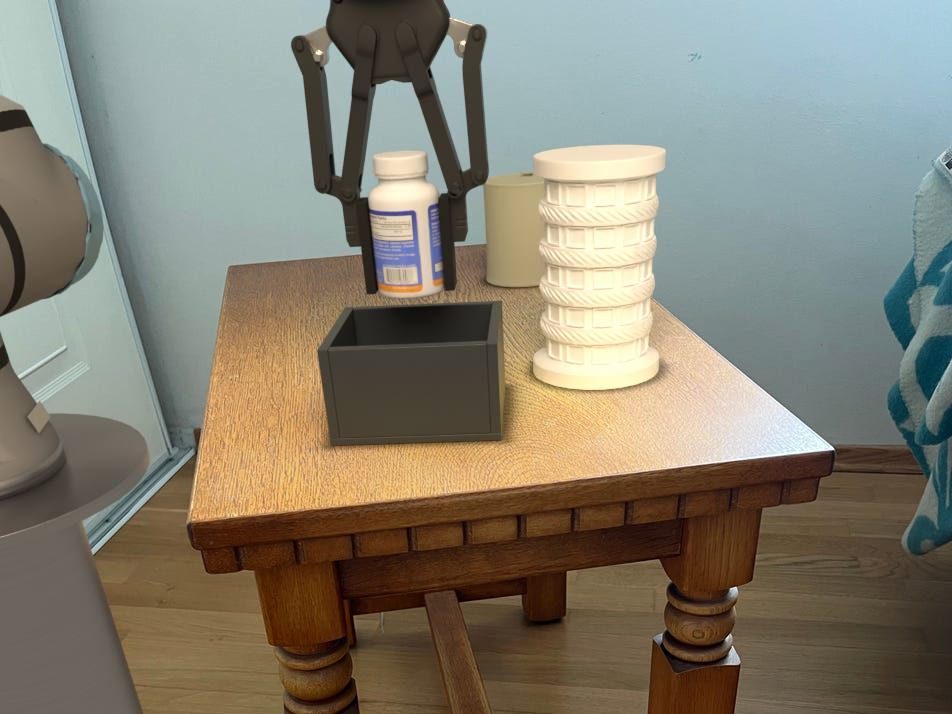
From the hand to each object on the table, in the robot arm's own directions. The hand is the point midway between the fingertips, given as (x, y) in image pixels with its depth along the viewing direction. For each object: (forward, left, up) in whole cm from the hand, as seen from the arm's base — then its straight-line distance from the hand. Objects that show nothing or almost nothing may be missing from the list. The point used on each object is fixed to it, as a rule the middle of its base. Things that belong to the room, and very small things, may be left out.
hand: (412, 287), depth 74 cm
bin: (0, 0, -10) cm, 10 cm away
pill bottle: (0, 0, -1) cm, 1 cm away
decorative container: (+15, +11, -11) cm, 21 cm away
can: (+8, +48, -11) cm, 50 cm away
